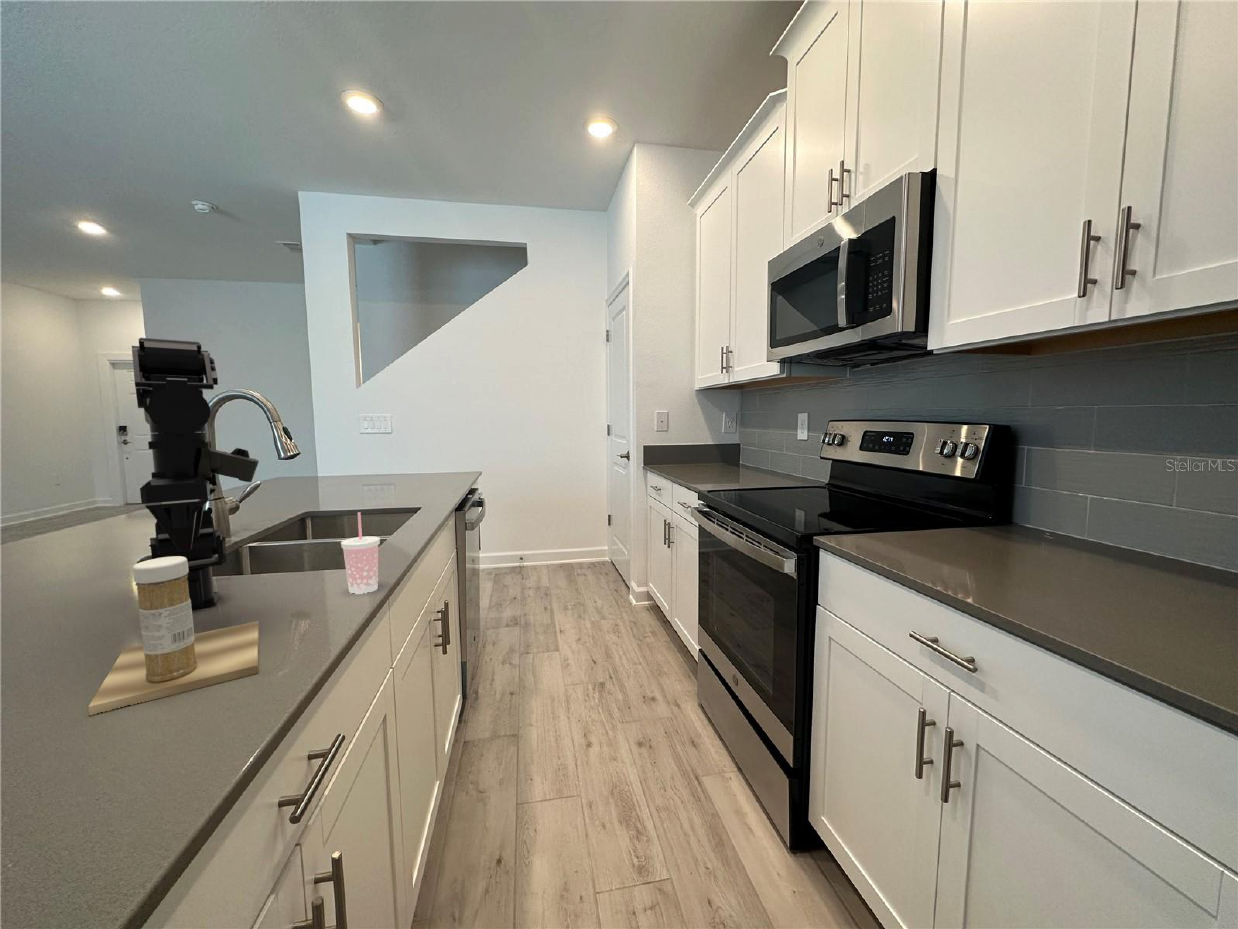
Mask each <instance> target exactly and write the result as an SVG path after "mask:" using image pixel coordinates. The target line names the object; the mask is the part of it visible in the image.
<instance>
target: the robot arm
mask: <svg viewBox="0 0 1238 929" xmlns="http://www.w3.org/2000/svg"><path fill="white" fill-rule="evenodd" d="M137 340H138V345H131V354H132V365H133V366H132V367H133V376H134V377H133V378H134V386H135V387H134V388H135V395H136V396H135V397H136V400H137V401H136V404H137V408H138V409H143V413H144V421H145V422H146V424H148V425H149V431H150V432H149V433H150V441H148V442H147V443H148V444H147V445H148V450H152V461H153V462H152V463H153V470H154V471H153V472H151V473H150V474H151V479H149V480H148V481H146V483H145V484H143V485H142V486H141V487H140V488H139V493H140V501H141V504H144V507H145V509H146V510H148V511H149V512H150V514H151V515H152V516H153V518H154V519H155V520H156V522H155V524H154V528H155V529H154V531H155V537H154V536H153V537H150V538H149V542H150V553H151V559H156V558H162V557H171V556H182V557H185V558H187V561H188V569H189V572H188V573H187V574H188V577H187V580H188V588H189V597H190V599H191V608H192V610H195V609H199V608H206V607H211V606H216V605H217V602H218V599H219V595H220V594H219V591H214V581H213V569H212V568H213V567H217V566H219V567H220V566H223V564H225V563H227V553H226V550H227V549H226V548H227V546H226V540H227V539H226V536H224V535H222V533H221V532H220V529H218V528H217V529H215V524H214V518H213V517H212V514H211V513H210V512H209V510H207V509H205V505H206V504H208V502H209V501H210V498H211V495H212V494H214V493H215V492H216V491H217V490H218V487H217V486H218V485H219V475H220V476H223V477H229V478H233V479H234V478H235V479H238V480H239V481H241V482H244V483H245V482H246V483H252V481H253V478H254V476H255V473H256V471H257V467H258V465H259V462H260V461H259V459H256V458H252V457H250V453H249V450H248V449H243V448H240V447H236V448H235V449H233V450H232V451H231V452H227V451H222V450H217V449H214V448H213V444H212V440H209V438H208V437H207V426H206V425H207V423H208V422H209V419H210V418H211V407H210V405H209V403H208V400H206V398H205V397H204V392H203V390H206V391H208V390H209V391H211V390H212V391H213V390H214V387H215V386H218V385H219V383H218V382H219V381H218V373H217V369H216V364H215V360H214V358H213V357H212V356H211V354H210V352H209V350H203V349H202V344H201V342H199V341H193V340H192V341H191V340H190V341H189V340H176V339H163V338H151V337H150V338H149V337H139V338H138V339H137ZM210 485H211V486H213V487H211V486H210Z"/></svg>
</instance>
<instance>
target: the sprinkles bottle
mask: <svg viewBox="0 0 1238 929" xmlns="http://www.w3.org/2000/svg"><path fill="white" fill-rule="evenodd" d="M188 572H189V569H188V561H187V558H185V557H182V556H171V557H162V558H156V559H152V558H151V559H148V560H144V561H141V562H137V563H135V564H134V565H133V567H132V576H133V582H134V583H135V584H134V585H135V586H136V590H137V598H138V600H137V601H138V616H139V625H140V634H141V642H142V644H141V645H143V652H144V655H145V663H146V680H149V681H153V682H160V681H165V680H171V679H174V678H178V677H181V676H183V675H186V674H187V673H189V672H191V671H192V670H194V669H195V668H196V667H197V660H196V657H195V647H194V640H195V638H194V634H195V631H194V629H195V628H194V618H193V617H194V616H193V609H192V608H191V599H190V597H189V588H188V580H187V577H188V574H187V573H188Z"/></svg>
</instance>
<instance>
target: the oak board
mask: <svg viewBox="0 0 1238 929" xmlns="http://www.w3.org/2000/svg"><path fill="white" fill-rule="evenodd" d="M259 637H260V624H259V620H256V621H252V622H247V623H241V624H237V625H232V626H228V627H227V626H226V627H224V628H217V629H213V630H208V631H203V632H197V633H194V638H195V640H194V647H195V657H196V660H197V667H196V668H195V669H194V670H192V671H191V672H189V673H187V674H186V675H183V676H181V677H178V678H174V679H171V680H165V681H160V682H153V681H149V680H146V663H145V655H144V652H143V644H138V645H133V646H129V647H128V646H127V647H125V648H123V650H122V651H121V652H120V654H119V656H118V658H117V660H116V661H115V663H114V664H113V666H112V667H111V669H110V671H109V673H108V674H107V676H106V678H105V679H104V680H103V682H102V684H101V686H100V687H99V689H97V691H96V694H95V696H94V697H93V699H92V700H91V702H90V704H89V705H88V714H89V715H91V716H94V715H93V714H95V715H98V714H97V713H99V714H101V713H100V712H103V713H106V712H105V711H107V712H110V710H111V711H113V710H112V709H115V708H119V709H121V708H120V707H123V708H125V707H124V706H127V705H131V706H134V704H135V705H137V703H139V704H142V703H145V701H146V702H150V701H153V700H157V699H161V698H165V697H170V696H173V695H177V694H182V693H186V692H190V691H194V690H197V689H201V688H205V687H209V686H213V685H217V684H220V683H225V682H230V681H233V680H236V679H242V678H245V677H248V676H253V675H257V674H259V645H260V644H259V639H260V638H259ZM141 702H142V703H141ZM127 707H128V706H127ZM115 710H116V709H115ZM89 715H88V716H89Z"/></svg>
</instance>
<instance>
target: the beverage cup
mask: <svg viewBox="0 0 1238 929" xmlns="http://www.w3.org/2000/svg"><path fill="white" fill-rule="evenodd" d="M361 513H362V512H361V511H359V512H358V511H357V527H358V536H356V537H351V538H347V539H344V540H342V541H341V542H340V545H341V548H342V550H343V556H344V565H345V572H346V573H345V574H346V579H347V584H348V585H347V586H348V593H349V592H350V593H349V594H351V593H355V594H354V595H364V594H363V593H365V594H368V593H367V592H370V593H372V592H375V591H377V590H378V589H379V545H380V543H381V538H380V537H379V536H375V535H374V536H372V535H371V536H370V535H369V536H368V535H367V536H363V532H362V530H363V529H362V515H361Z"/></svg>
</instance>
